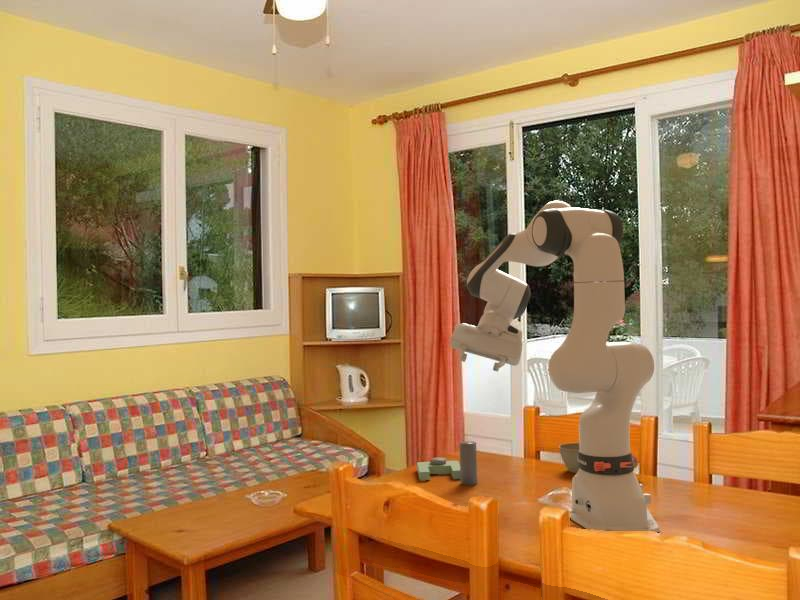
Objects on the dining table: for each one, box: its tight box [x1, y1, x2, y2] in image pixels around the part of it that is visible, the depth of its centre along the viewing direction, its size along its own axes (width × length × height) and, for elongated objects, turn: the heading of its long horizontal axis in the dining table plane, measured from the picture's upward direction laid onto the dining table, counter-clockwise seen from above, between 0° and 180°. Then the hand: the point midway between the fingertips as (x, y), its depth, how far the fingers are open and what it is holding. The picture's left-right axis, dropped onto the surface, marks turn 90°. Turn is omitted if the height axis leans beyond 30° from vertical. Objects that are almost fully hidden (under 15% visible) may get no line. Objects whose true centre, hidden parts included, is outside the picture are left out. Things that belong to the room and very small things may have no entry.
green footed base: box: [416, 456, 461, 482], centre depth 205 cm, size 12×12×4 cm
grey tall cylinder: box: [459, 440, 479, 487], centre depth 195 cm, size 4×4×11 cm
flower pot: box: [558, 442, 580, 474], centre depth 204 cm, size 10×10×7 cm
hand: (478, 364), depth 197 cm, fingers open, 8 cm apart
